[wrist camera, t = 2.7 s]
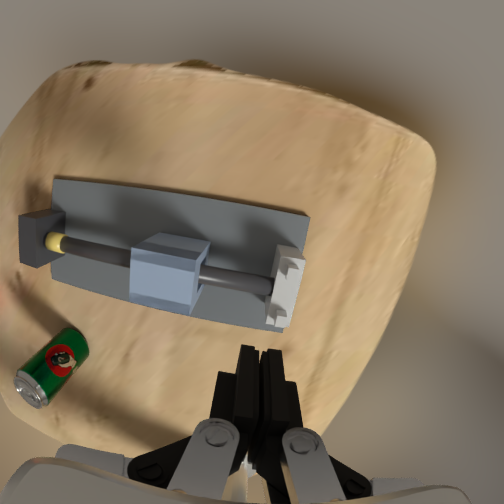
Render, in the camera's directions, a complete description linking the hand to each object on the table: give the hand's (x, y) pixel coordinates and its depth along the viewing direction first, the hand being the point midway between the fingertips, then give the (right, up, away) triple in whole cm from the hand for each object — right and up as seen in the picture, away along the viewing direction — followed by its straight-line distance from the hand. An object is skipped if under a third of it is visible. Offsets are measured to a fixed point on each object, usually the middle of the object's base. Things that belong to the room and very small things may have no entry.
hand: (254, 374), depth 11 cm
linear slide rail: (-10, +5, +16) cm, 19 cm away
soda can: (-24, -7, +19) cm, 31 cm away
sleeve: (-7, +4, +15) cm, 17 cm away
